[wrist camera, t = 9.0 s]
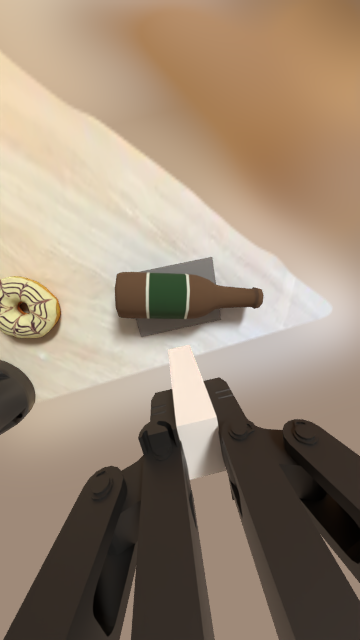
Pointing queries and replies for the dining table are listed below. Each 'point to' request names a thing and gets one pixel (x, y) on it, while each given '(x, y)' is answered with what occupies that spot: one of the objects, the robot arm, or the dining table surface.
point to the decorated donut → (10, 292)
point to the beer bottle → (177, 296)
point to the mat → (162, 325)
